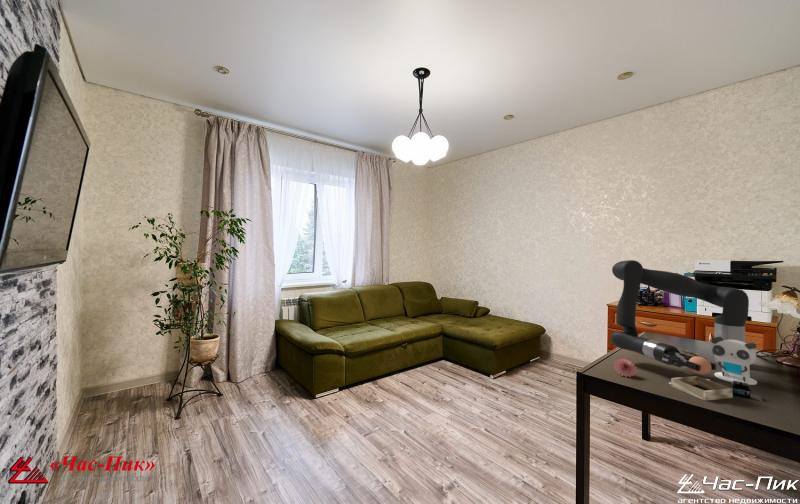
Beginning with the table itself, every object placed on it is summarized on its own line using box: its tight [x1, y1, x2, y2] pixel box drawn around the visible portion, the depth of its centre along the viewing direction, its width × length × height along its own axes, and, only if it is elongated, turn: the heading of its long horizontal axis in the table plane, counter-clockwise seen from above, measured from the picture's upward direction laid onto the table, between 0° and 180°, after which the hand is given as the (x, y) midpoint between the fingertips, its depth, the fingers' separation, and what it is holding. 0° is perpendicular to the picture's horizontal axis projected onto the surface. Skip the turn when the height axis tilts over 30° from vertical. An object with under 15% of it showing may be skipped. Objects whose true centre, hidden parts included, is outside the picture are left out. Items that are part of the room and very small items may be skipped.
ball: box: [689, 355, 712, 375], centre depth 111 cm, size 6×6×6 cm
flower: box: [613, 357, 638, 378], centre depth 127 cm, size 8×8×6 cm
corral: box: [670, 375, 733, 401], centre depth 111 cm, size 11×11×3 cm
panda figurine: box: [710, 336, 758, 386], centre depth 122 cm, size 12×11×15 cm
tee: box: [678, 350, 700, 376], centre depth 127 cm, size 4×4×9 cm
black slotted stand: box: [730, 381, 764, 403], centre depth 109 cm, size 12×7×5 cm, turn 48°
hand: (707, 367), depth 109 cm, fingers closed on ball, 6 cm apart
